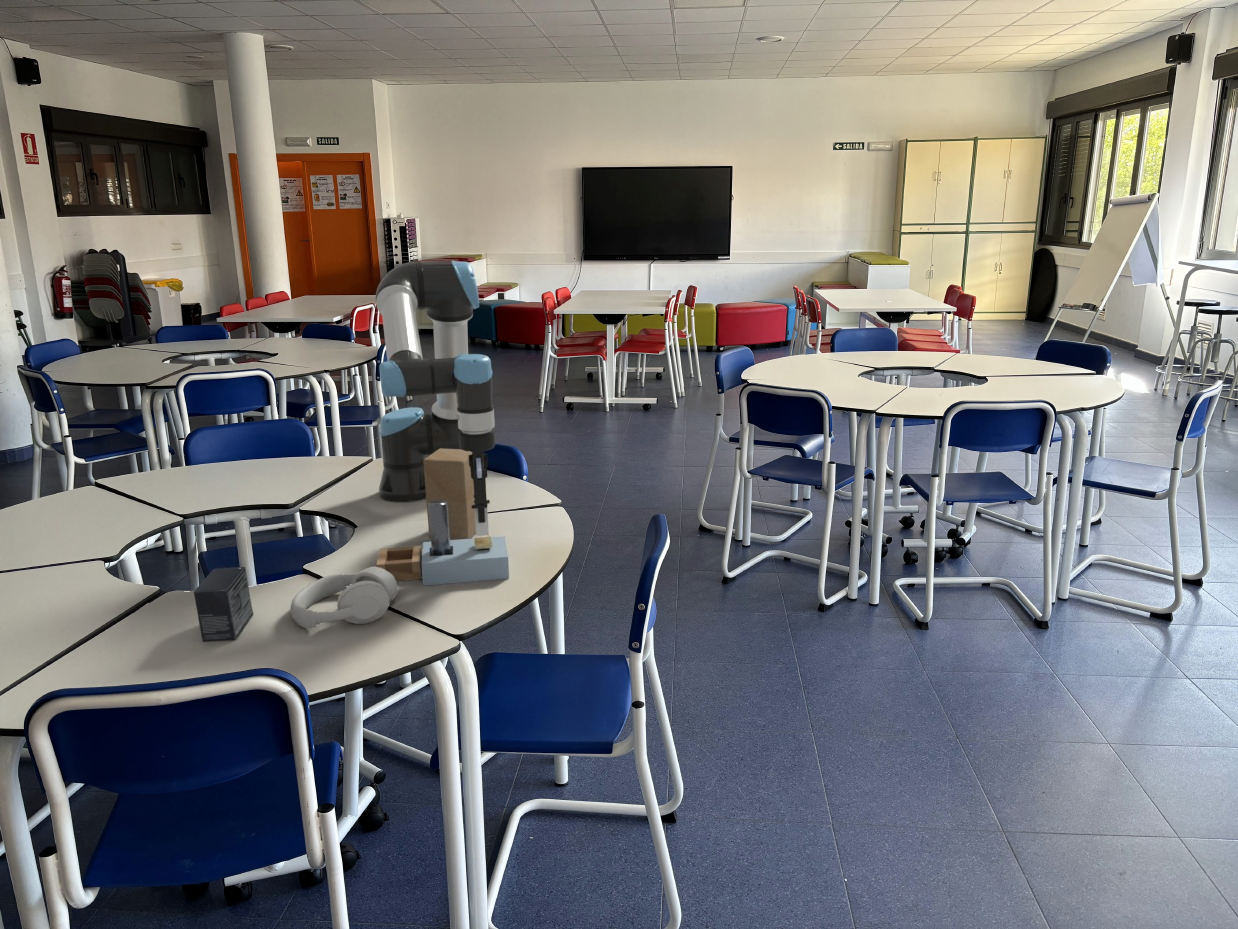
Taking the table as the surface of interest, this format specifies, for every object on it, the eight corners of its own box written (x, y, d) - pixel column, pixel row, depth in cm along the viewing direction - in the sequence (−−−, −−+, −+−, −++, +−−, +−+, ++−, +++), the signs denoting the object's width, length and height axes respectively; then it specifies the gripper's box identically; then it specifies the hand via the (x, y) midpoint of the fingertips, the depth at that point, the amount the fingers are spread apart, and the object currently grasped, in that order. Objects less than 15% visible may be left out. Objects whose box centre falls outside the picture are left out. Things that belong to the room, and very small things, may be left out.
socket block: (424, 563, 193) (423, 542, 192) (505, 556, 197) (504, 536, 195) (423, 585, 182) (421, 563, 181) (509, 578, 185) (508, 556, 184)
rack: (381, 565, 192) (379, 548, 191) (422, 562, 194) (421, 545, 193) (378, 582, 184) (376, 565, 183) (421, 578, 185) (419, 561, 184)
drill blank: (433, 569, 190) (428, 500, 185) (452, 568, 191) (447, 499, 186) (433, 577, 186) (427, 507, 182) (452, 575, 187) (447, 505, 182)
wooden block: (468, 542, 205) (463, 461, 199) (428, 539, 207) (422, 459, 201) (482, 527, 214) (478, 449, 208) (444, 524, 216) (439, 447, 210)
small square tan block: (475, 561, 191) (474, 537, 189) (492, 560, 192) (490, 536, 190) (476, 568, 188) (474, 544, 186) (492, 567, 188) (491, 542, 187)
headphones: (410, 589, 179) (317, 600, 181) (402, 554, 177) (308, 566, 179) (383, 631, 162) (281, 644, 163) (374, 594, 159) (270, 606, 161)
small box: (220, 616, 169) (212, 567, 166) (254, 614, 170) (247, 565, 167) (199, 642, 159) (191, 590, 156) (236, 641, 160) (228, 589, 157)
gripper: (457, 422, 186) (464, 524, 193) (458, 438, 174) (465, 547, 181) (493, 420, 188) (498, 522, 195) (496, 436, 175) (501, 544, 182)
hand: (482, 534), depth 188 cm, fingers closed
